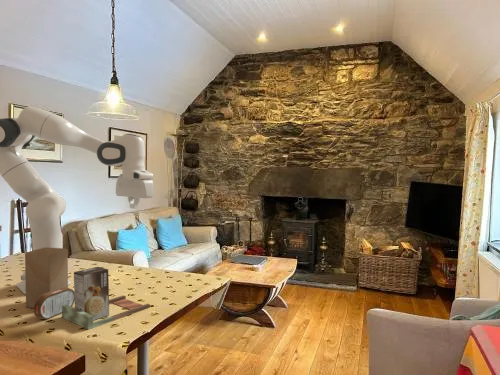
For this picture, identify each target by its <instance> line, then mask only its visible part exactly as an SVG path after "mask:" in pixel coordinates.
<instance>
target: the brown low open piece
mask: <svg viewBox="0 0 500 375" xmlns="http://www.w3.org/2000/svg"><path fill="white" fill-rule="evenodd" d="M126 297H127V296H126V295H120V296H117V297H113V298H109V305H111V304H113V305H116V306H119V307H121V308H124V309H127V310H126V311H123V312H120V313H119V312H118V313H117V314H114V315H112V316H109V317H108V316H107V317H106V318H103V319H102V318H101V319H100V320H97V321H94V320H93V315H90V314H88V313H86V312H83V311H81V310H79V309H76V308H75V306H72V307H71V306H69V305H67V304H66V305H62V313H61V318H62V319H65V320H68V321H69V322H71V323H73V324H76V325H78V326H80V327H82V328H84V329H87V330H91V329H94V328H97V327H100V326H102V325H106V324H107V323H111V322H113V321H116V320H119V319H122V318H125V317H127V316H129V315H133V314H135V313H138V312H141V311H144V310H147V309H149V308H151V304H150V303H145V304H141V303H138V302H135V301H133V300H130V299H127V298H126Z"/></svg>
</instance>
